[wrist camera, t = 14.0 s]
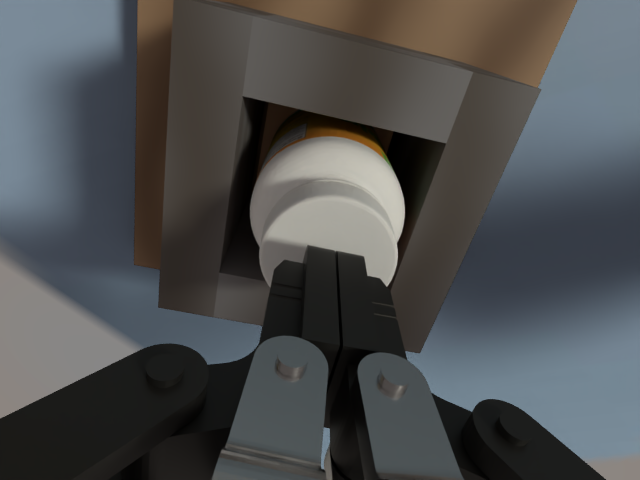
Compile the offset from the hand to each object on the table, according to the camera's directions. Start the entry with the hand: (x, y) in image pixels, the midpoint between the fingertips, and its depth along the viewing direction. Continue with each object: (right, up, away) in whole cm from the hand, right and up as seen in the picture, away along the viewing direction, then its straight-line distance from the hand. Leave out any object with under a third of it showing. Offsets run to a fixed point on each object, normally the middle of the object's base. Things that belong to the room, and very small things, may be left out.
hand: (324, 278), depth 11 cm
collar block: (0, +7, +12) cm, 14 cm away
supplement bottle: (0, +5, +9) cm, 11 cm away
